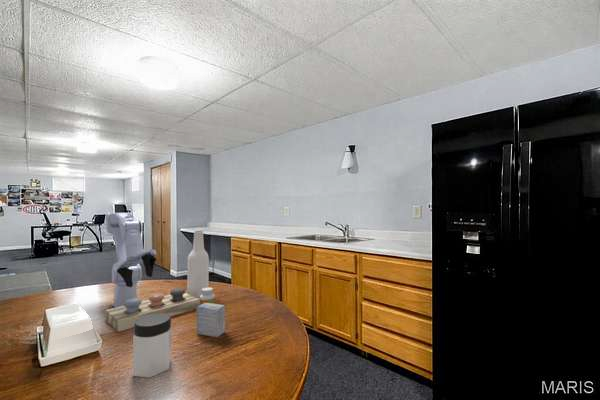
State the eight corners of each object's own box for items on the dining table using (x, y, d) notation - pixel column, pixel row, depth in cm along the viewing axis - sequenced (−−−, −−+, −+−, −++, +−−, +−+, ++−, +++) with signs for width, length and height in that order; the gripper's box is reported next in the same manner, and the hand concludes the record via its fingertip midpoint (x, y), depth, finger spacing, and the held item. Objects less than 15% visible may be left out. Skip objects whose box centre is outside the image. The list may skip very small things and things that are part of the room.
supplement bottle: (210, 318, 100) (210, 291, 100) (196, 317, 101) (196, 290, 101) (217, 313, 105) (217, 287, 105) (204, 311, 106) (204, 286, 106)
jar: (163, 354, 75) (164, 310, 76) (177, 366, 70) (178, 318, 70) (126, 369, 68) (127, 320, 69) (139, 383, 63) (140, 330, 63)
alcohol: (182, 299, 120) (183, 230, 121) (197, 293, 128) (198, 228, 129) (198, 302, 117) (199, 230, 117) (212, 295, 125) (213, 229, 125)
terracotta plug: (146, 308, 103) (146, 295, 103) (160, 304, 107) (160, 292, 107) (151, 311, 100) (152, 298, 100) (166, 307, 104) (166, 295, 104)
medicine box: (225, 332, 89) (225, 304, 89) (217, 338, 85) (217, 309, 85) (205, 328, 92) (205, 302, 92) (196, 334, 87) (196, 306, 88)
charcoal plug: (167, 302, 109) (168, 290, 109) (180, 299, 113) (181, 287, 113) (174, 305, 106) (174, 293, 106) (187, 302, 110) (187, 290, 110)
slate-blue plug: (121, 314, 97) (121, 301, 97) (138, 310, 101) (138, 297, 101) (126, 318, 94) (127, 304, 94) (143, 314, 98) (143, 300, 98)
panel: (105, 320, 98) (105, 310, 98) (182, 299, 119) (182, 291, 119) (118, 331, 89) (118, 320, 89) (199, 307, 110) (199, 298, 110)
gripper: (108, 254, 100) (111, 289, 94) (145, 235, 101) (151, 268, 95) (122, 259, 106) (126, 292, 100) (157, 242, 107) (163, 273, 101)
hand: (139, 281), depth 98 cm, fingers open, 7 cm apart
